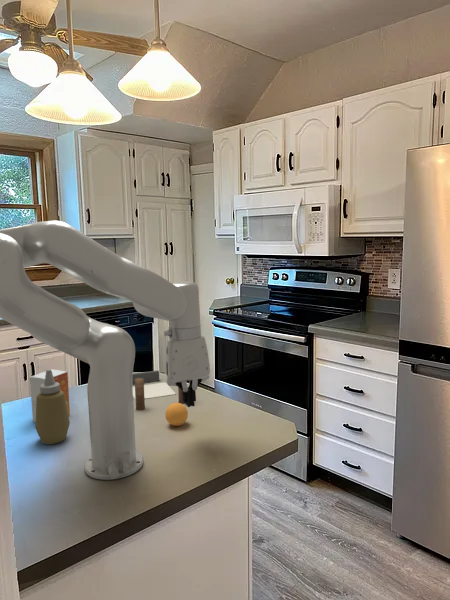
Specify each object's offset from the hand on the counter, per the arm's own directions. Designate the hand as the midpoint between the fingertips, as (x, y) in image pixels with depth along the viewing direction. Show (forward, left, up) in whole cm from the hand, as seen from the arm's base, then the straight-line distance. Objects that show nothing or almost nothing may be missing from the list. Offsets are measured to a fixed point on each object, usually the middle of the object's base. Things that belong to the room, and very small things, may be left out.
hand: (189, 404), depth 114 cm
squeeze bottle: (+13, +32, -9) cm, 36 cm away
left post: (+25, +7, -9) cm, 28 cm away
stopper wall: (+49, +1, -9) cm, 50 cm away
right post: (+25, -6, -9) cm, 27 cm away
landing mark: (+39, +1, -9) cm, 40 cm away
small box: (+28, +32, -9) cm, 43 cm away
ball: (+9, +1, -6) cm, 11 cm away
